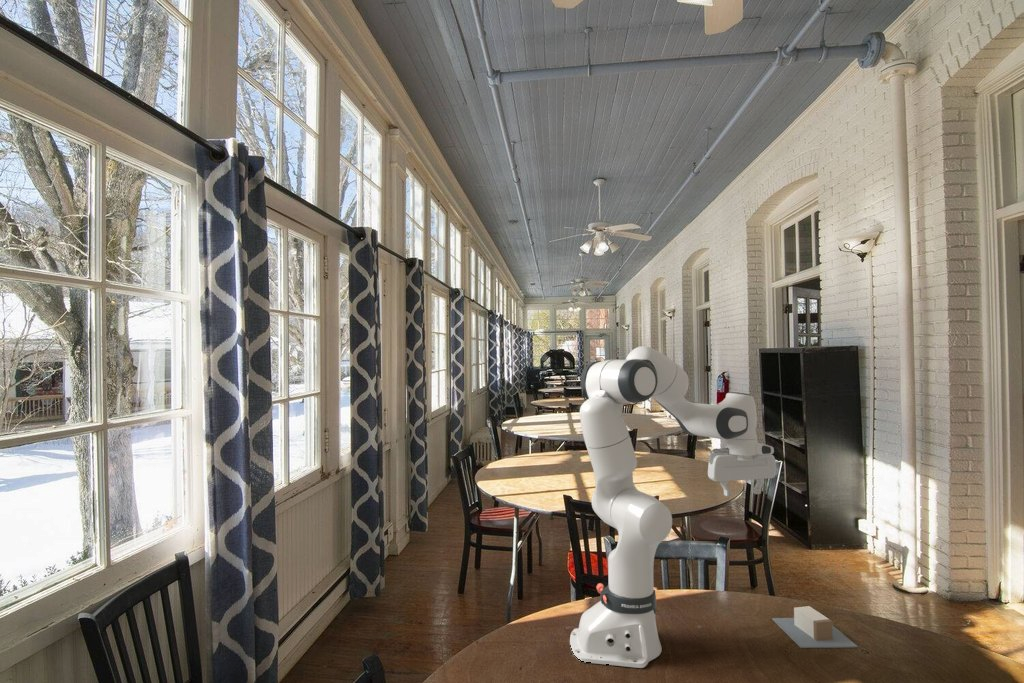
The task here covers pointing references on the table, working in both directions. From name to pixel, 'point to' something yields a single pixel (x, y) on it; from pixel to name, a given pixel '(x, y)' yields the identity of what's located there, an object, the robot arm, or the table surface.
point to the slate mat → (807, 641)
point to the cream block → (813, 623)
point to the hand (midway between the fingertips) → (742, 494)
